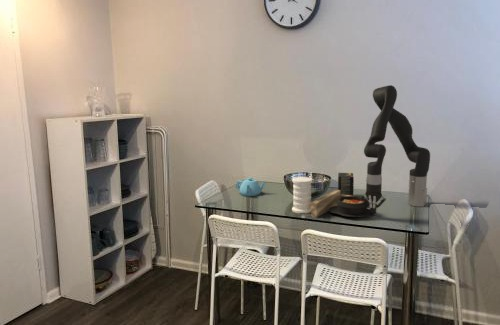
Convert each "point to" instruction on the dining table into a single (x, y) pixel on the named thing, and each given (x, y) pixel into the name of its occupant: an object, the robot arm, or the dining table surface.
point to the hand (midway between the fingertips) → (373, 214)
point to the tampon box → (346, 183)
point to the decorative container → (302, 195)
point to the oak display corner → (325, 203)
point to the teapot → (249, 187)
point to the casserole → (351, 207)
